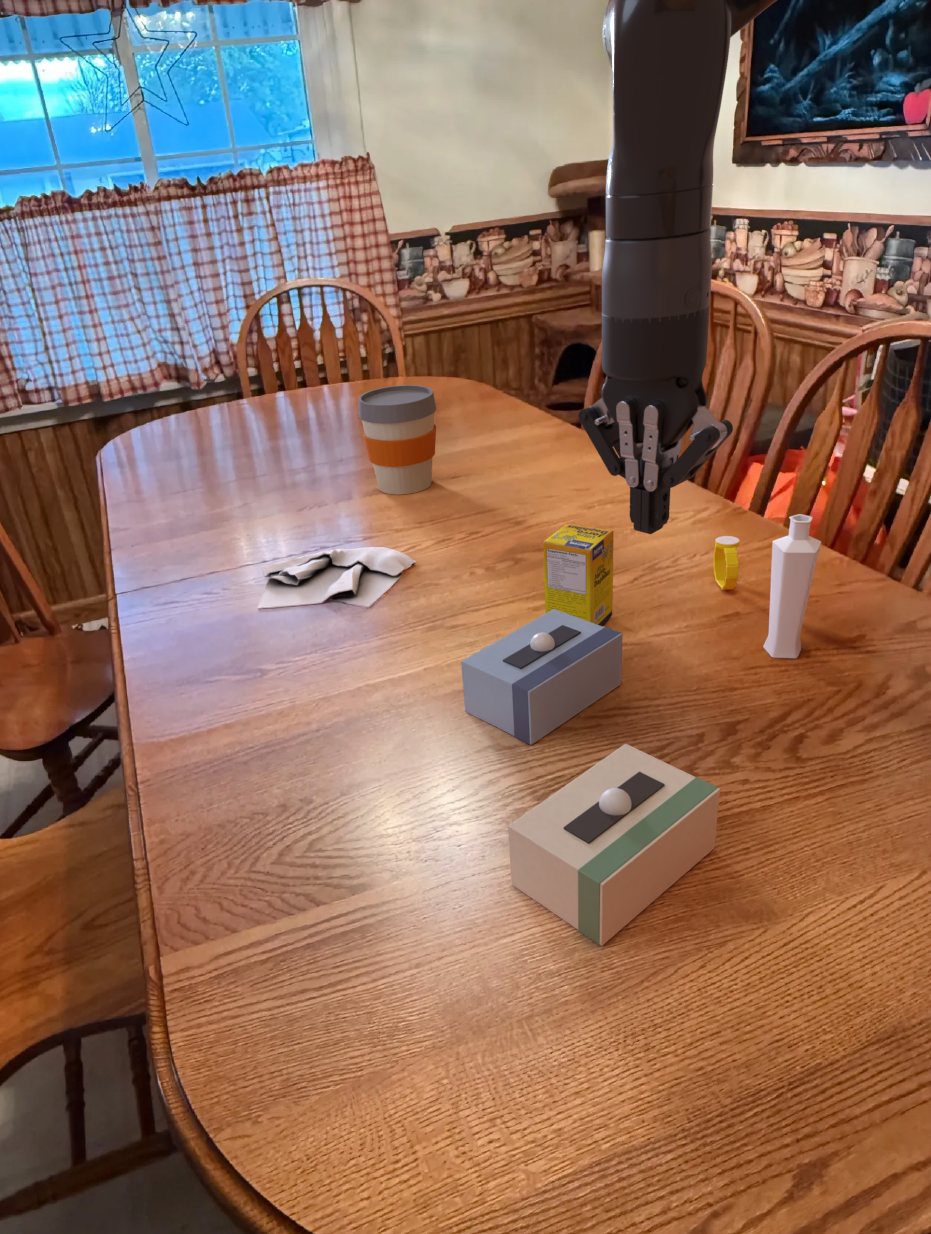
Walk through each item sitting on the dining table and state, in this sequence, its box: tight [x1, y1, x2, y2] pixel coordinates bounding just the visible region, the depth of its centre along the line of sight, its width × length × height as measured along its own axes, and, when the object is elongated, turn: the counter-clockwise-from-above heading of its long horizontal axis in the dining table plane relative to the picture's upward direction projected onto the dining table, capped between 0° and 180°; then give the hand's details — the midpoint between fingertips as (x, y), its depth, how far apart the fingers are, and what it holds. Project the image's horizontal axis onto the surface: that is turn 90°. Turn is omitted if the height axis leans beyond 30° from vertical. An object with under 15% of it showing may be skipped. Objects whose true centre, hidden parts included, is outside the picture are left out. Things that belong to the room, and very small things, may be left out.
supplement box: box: [542, 522, 614, 627], centre depth 102 cm, size 6×6×11 cm
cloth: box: [257, 546, 417, 610], centre depth 121 cm, size 20×22×2 cm
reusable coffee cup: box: [358, 384, 437, 495], centre depth 147 cm, size 13×13×15 cm
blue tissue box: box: [460, 609, 624, 745], centre depth 90 cm, size 14×8×9 cm
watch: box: [712, 535, 741, 591], centre depth 108 cm, size 6×3×6 cm, turn 179°
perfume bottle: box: [762, 513, 822, 659], centre depth 92 cm, size 5×4×15 cm
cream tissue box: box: [507, 743, 721, 947], centre depth 69 cm, size 14×8×9 cm
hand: (648, 529), depth 73 cm, fingers closed
